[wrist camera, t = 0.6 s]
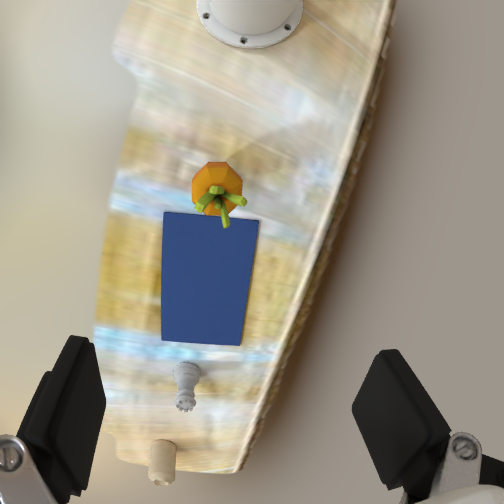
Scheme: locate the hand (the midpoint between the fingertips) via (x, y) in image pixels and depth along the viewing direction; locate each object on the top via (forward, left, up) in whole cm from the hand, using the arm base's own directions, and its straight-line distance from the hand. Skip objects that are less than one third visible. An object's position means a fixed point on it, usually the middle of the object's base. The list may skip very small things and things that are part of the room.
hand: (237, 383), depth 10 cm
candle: (+56, -7, -32) cm, 65 cm away
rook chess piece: (+31, -2, -32) cm, 45 cm away
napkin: (+14, 0, -32) cm, 35 cm away
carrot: (-1, 0, -32) cm, 32 cm away
